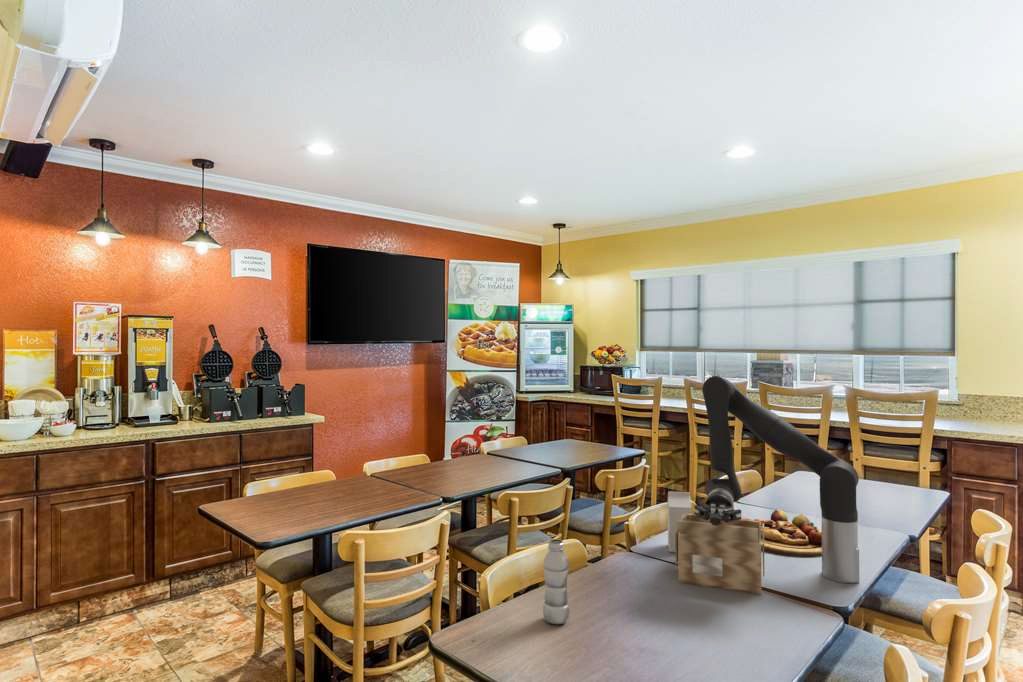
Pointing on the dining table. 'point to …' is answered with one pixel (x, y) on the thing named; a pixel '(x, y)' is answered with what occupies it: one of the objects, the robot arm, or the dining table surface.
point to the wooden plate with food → (790, 536)
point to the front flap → (718, 531)
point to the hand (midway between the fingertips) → (715, 521)
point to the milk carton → (676, 513)
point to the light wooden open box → (720, 559)
